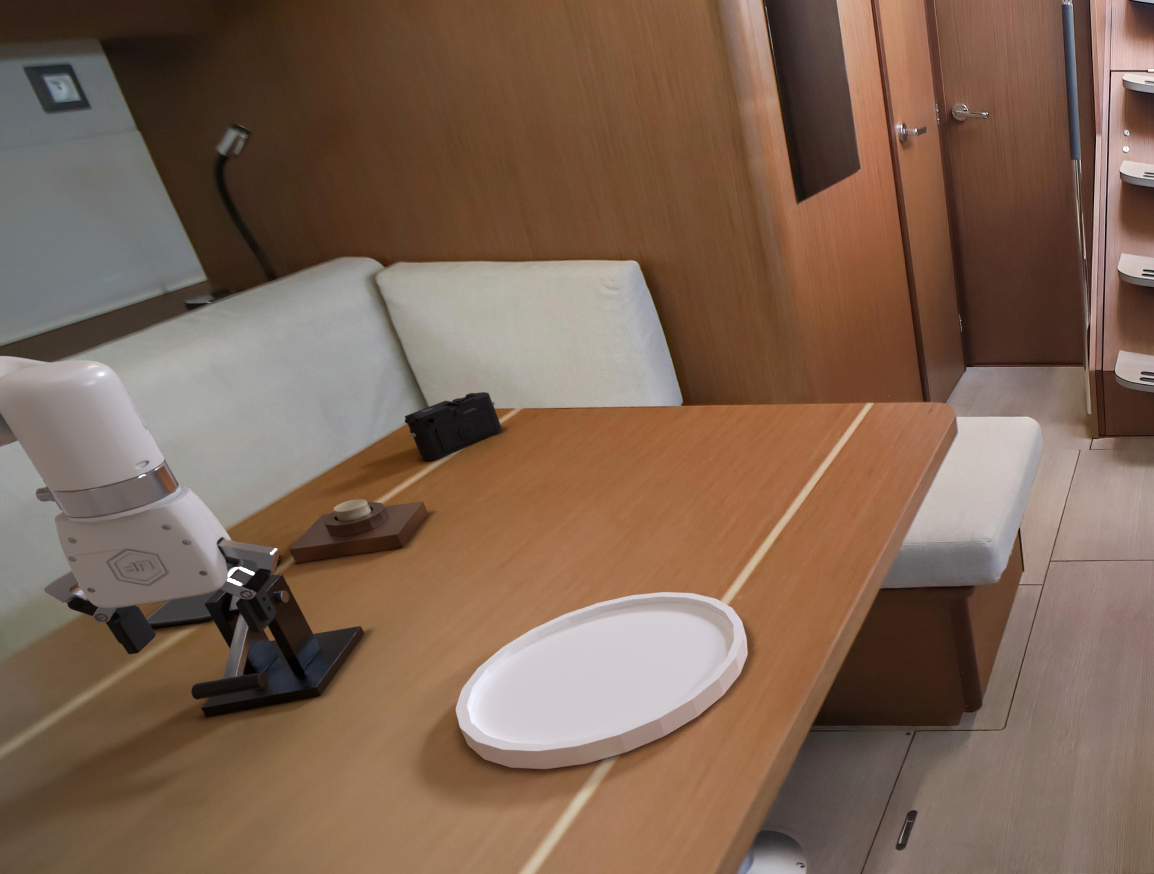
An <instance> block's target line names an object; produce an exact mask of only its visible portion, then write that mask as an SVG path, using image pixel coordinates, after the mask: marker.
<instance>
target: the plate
mask: <svg viewBox="0 0 1154 874" xmlns="http://www.w3.org/2000/svg"><path fill="white" fill-rule="evenodd" d="M747 639H748V638H747V634H746V630H745V627H744V623H743V621H742V619H741V618H740V617H739V615H738V614H737V612H736V611H735V609H734V608H733V607H731V606H729V605H728V604H726V603H724V602H723V601H721V600H719V599H717V598H715V597H710V596H706V595H702V594H698V593H695V592H671V591H660V592H651V593H642V594H633V595H632V594H631V595H627V596H623V597H619V598H614V599H610V600H605V601H600V602H596V603H594V604H591V605H588V606H586V607H582V608H579V609H576V610H573V611H569V612H567V613H565V614H562V615H560V616H557V617H556V618H553V619H551V620H549V621H547V622H545V623H543V624H540V625H538V626H536V627H534V628H532V629H531V628H530V630H528V631H526V632H525V633H523V634H522V635H520V636H519V637H517V638H515V639H514V640H512V641H511V642H509V643H507V644H506V645H504V646H502V647H501V648H500V649H499V650H497V651H496V652H495V653H493V655H491V656H490V657H489V658H488V659H487V660H485V661H484V662H483V663H482V664H480V666H479V667H477V668H476V670H475V671H474V672H473V674H472V675H471V676H470V678H468V680H467V681H466V682H465V684H464V685H463V687H462V688H461V691H460V694H459V696H458V700H457V703H456V706H455V709H454V710H455V713H456V717H457V721H458V726H459V729H460V731H461V733H462V734H463V737H464V739H465V742H466V744H467V746H468V747H469V748H470V749H472V750H473V751H474V752H475V753H476V754H478V756H480V757H481V758H482V759H483V760H485V761H487V762H488V761H489V762H492V763H495V764H498V765H500V766H501V765H502V766H505V767H506V768H511V769H531V770H532V769H533V770H534V769H535V770H550V769H556V768H564V767H572V766H580V765H586V764H590V763H593V762H597V761H600V760H604V759H608V758H612V757H615V756H618V755H622V754H626V753H628V752H630V751H633V750H635V749H637V748H639V747H641V746H645V745H647V744H649V743H652V742H654V741H656V740H658V739H661V738H663V737H665V736H667V735H669V734H671V733H672V732H674V731H676V730H677V729H679V728H680V727H682V726H684V725H686V724H687V723H689V722H691V721H693V720H695V719H696V718H697V717H699V716H700V715H701V714H703V713H704V712H705V711H706V710H708V708H710V707H711V706H712V705H713V704H715V703H716V702H717V701H718V700H719V699H721V698H722V697H724V695H725V694H726V693H727V691H728V690H729V689H730V688H731V687H732V685H733V684H734V683H735V681H736V680H737V679H738V678H739V676H740V675H741V674H742V670H743V668H744V665H745V663H746V660H747V658H748V654H749V653H748V642H747V641H748V640H747Z"/></svg>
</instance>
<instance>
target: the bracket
mask: <svg viewBox="0 0 1154 874" xmlns="http://www.w3.org/2000/svg"><path fill="white" fill-rule="evenodd" d="M263 588H264V590H265V591H266V593H267V595H268V597H269V599H270V600H271V602H272V604H273V606H274V608H275V611H276V613H275V617H274V619H273V620H272V621H271V622H270V623H269V625H268V626H267V628H268V629H269V631H270V633H271V635H272V637H273V639H274V640H270V639H269V637H268V635H267V633H266V631H265V629H264V630H263V631H262V632H258V633H254V632H253V634H252V638H251V642H250V647H249V651H248V655H247V659H246V663H245V667H244V671H243V675H249V674H254V673H260V672H264V673H266V674H267V676H268V685H267V686H266V687H265V688H260V689H254V690H249V691H243V692H238V693H232V694H226V695H221V696H215V697H210V698H207V700H206V701H205V702H204V703H203V705H202V706H201V707H200V711H202V713H203V715H204V716H205V717H210V716H211V717H212V716H216V715H222V714H227V713H228V714H229V713H232V712H238V711H243V710H248V709H254V708H259V707H260V708H261V707H265V706H271V705H277V704H281V703H286V702H292V701H298V700H303V699H309V698H313V697H314V698H315V697H320V696H321V695H322V694H323V693H324V691H325V690H326V689H327V687H328V686H329V684H330V683H331V681H332V680H333V679H334V677H335V676H336V675H337V673H338V672H339V670H340V669H341V667H342V666H343V665H344V663H345V662H346V660H347V659H348V657H349V656H350V655H351V653H352V652H353V651H354V650H355V648H356V647H357V645H358V644H359V642H360V641H361V639H362V638H363V637H364V635H365V631H364V629H363V627H362V625H358V626H357V625H356V626H352V627H346V628H339V629H334V630H327V631H321V632H315V633H314V632H313V631H312V629H311V627H310V625H309V622H308V621H307V619H306V617H305V615H304V613H303V612H302V610H301V607H300V606H299V603H298V602H297V600H296V598H295V596H294V594H293V592H292V590H291V588H290V587H289V584H288V582H287V580H286V579H285V576H284V574H283V573H278V574H273V575H272V577H271V578H270V579H269V580H268V582H267V583H266V585H265V586H264V587H263ZM232 597H233V595H232V594H230V593H228V592H225V591H223V590H220V589H219V590H218V591H217V592H216V593H215V594H214V595H213V596H212V597H211V598H210V599H209V600H208V601H207V602H206V603H205V604H204V605H205V606H206V608H207V610H208V612H209V613H210V615H211V617H212V619H211V620H213V622H214V624H215V625H216V627H217V629H218V631H219V632H220V634H221V636H222V638H223V640H224V641H225V643H226V645H227V646H228V648H229V649H230V648H231V644H232V640H233V636H234V632H235V628H236V624H237V620H238V616H237V615H236V614H234V613H233V612H231V611H229V608H230V604H231V601H232ZM243 675H242V676H243Z"/></svg>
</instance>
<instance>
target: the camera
mask: <svg viewBox="0 0 1154 874" xmlns="http://www.w3.org/2000/svg"><path fill="white" fill-rule="evenodd" d="M404 418H405V419H404V423H405V424H406V425H408V428H409V432H410V434H409V437H410V438H413V441H414V443H415V446H416V448H417V450H418V452H419V456H420V458H421V459H422V460H424V461H436V460H439V459H441V458H443V457H446V456H447V455H450V454H452V453H455V452H457V451H459V450H461V449H464V448H467V447H469V446H471V445H473V444H475V443H478V442H481V441H483V440H485V439H487V438H489V437H492V436H494V435H496V434H499V433H500V432H502V430H503V428H502V425H501V422H500V419H499V416H498V414H497V411H496V408H495V402H494V401H492V398H491V395H490V393H489V392H485V391H481V392H469V393H467V394H465V396H463V397H458V398H454V399H452V400H443V401H440V402H438V403H436V404H433V405H430V406H427V407H425V408H422V409H419V410H417V411H414V412H412V413H409V414H406V415H404Z"/></svg>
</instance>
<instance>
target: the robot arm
mask: <svg viewBox="0 0 1154 874" xmlns="http://www.w3.org/2000/svg"><path fill="white" fill-rule="evenodd" d="M149 430H150V429H149V428H148V426H147V424H146V423H145V421H144V419H143V417H142V416H141V414H140V412H139V410H138V408H137V407H136V405H135V403H134V402H133V400H132V398H131V396H130V395H129V393H128V391H127V389H126V387H125V385H124V383H123V382H122V380H121V378H120V376H119V375H118V374H117V373H116V372H115V370H114V369H112V368H111V367H110V366H109V365H107V364H105V363H103V362H99V361H96V360H90V359H70V360H60V361H53V362H52V361H51V362H49V361H44V360H43V361H42V360H36V359H31V358H26V357H25V358H24V357H18V356H10V355H0V448H2V447H3V446H7V445H10V444H13V443H17V442H18V443H19V444H20V446H21V448H22V449H23V451H24V452H25V454H26V456H27V457H28V459H29V460H30V462H31V463H32V465H33V467H34V468H35V469H36V472H37V473H38V475H39V476H40V478H41V479H42V481H43V483H44V484H45V486H44V487H39V488H37V489H36V491H35V497H36V498H37V500H38V501H40V502H52V503H54V502H55V503H56V505H57V507H58V508H59V510H60V511H62V512H60V513H59V514H57V515H55V517H54V523H55V528H56V532H57V536H58V540H59V544H60V547H61V549H62V552H63V554H64V557H65V559H66V561H67V562H66V563H67V564H68V566H69V569H70V571H67V572H65V573H63V575H62V574H61V576H59V577H57V578H55V579H54V580H53V581H51V582H50V583H49V584H47V585H46V586H45V587H44V588H43V591H44V592H45V593H46V594H47V595H49V596H51V597H53V598H54V599H56V600H58V601H60V602H61V603H63V604H64V603H66V604H67V607H68V608H69V609H70V610H73V611H76V612H79V613H81V614H83V615H87V616H90V617H92V620H93V621H94V622H95V623H99V624H106V626H107V627H108V629H109V630H110V632H111V633H112V635H113V636H114V638H115V640H116V641H117V642H118V643H119V644H120V645H122V647H123V648H124V650H125V651H126V653H127V654H128V655H134V654H138V653H140V652H141V651H143V649H144V648H145V647H146V646H148V645H149V643H151V641H152V640H153V639H155V638H156V636H157V635H156V632H155V631H154V629H153V627H151V626H150V624H149V623H148V621H147V620H146V619H147V618H146V616H145V615H144V613H143V611H142V610H141V609H140V607H139V606H141V605H147V604H154V603H159V602H167V601H168V600H173V599H179V598H185V597H191V596H197V595H203V594H207V593H211V592H214V591H216V590H218V589H220V590H223V591H225V592H228V593H230V594H232V595H235V596H237V597H239V598H240V599H239V600H238V601H237V602H236V606H237V608H238V609H239V611H240V613H241V615H242V616H243V618H244V620H245V622H246V623H247V625H248V627H249V629H250V630H251V632H254V633H258V632H262V631H263V630H264V631H265V630H266V628H268V625H269V623H270V622H271V621H272V620H273V619H274V617H275V613H276V611H275V608H274V606H273V604H272V602H271V600H270V599H269V597H268V595H267V593H266V591H265V590H264V588H263V587H264V586H265V585H266V583H267V582H268V580H269V579H270V578H271V577H272V575H275V574H276V572H277V569H278V568H277V565H278V562H279V561H278V558H279V554H281V553H280V550H279V548H277V547H273V546H266V545H262V544H255V543H250V542H243V541H237V540H232V538H231V537H230V534H229V533H228V532H227V531H226V529H225V527H224V526H223V525H222V523H221V522H220V521H219V520H218V518H217V517H216V515H215V514H214V513H213V511H212V510H211V509H210V508H209V507H208V505H206V503H204V501H203V500H202V499H201V498H200V497H199V496H198V495H197V494H196V493H195V492H194V491H193V490H192V489H191V488H190V487H188V486H181V485H180V484H179V482H178V480H177V478H176V477H175V475H174V473H173V471H172V469H171V467H170V466H169V464H168V462H167V461H166V458H165V456H164V455H163V453H162V451H161V450H160V448H159V446H158V444H157V442H156V441H155V439H154V437H153V436H152V434H151V432H150V431H149ZM242 560H248V561H253V562H254V563H255V564H256V571H255V572H252V571H250V570H248V569H245V568H243V567H242V565H243V562H242ZM230 577H231V578H233V579H236V580H238V581H240V582H243V583H245V584H246V585H245V584H243V583H240V582H238V581H236V580H233V579H231V578H230Z"/></svg>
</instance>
